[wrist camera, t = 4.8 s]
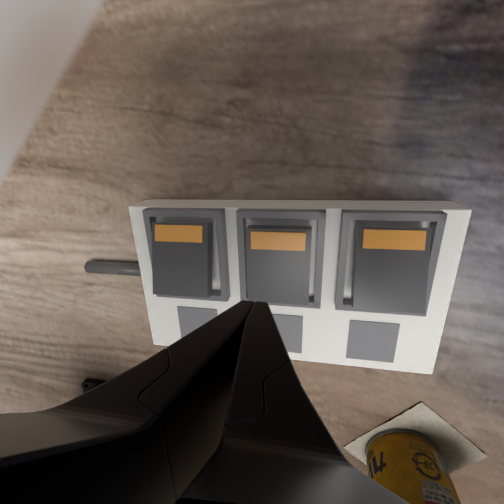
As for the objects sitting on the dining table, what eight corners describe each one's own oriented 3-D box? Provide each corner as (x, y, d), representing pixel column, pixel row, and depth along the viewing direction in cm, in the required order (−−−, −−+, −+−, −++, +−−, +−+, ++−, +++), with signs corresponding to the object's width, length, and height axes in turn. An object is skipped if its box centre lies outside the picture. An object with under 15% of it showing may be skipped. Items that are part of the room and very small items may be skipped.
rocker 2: (350, 304, 17) (353, 309, 16) (355, 226, 16) (358, 226, 15) (418, 308, 16) (425, 314, 15) (424, 227, 16) (433, 228, 15)
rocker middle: (250, 294, 18) (247, 302, 17) (249, 224, 17) (245, 229, 16) (308, 298, 18) (308, 306, 17) (311, 226, 16) (311, 230, 15)
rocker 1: (159, 290, 19) (151, 294, 18) (158, 221, 19) (150, 222, 17) (212, 294, 18) (206, 298, 17) (212, 223, 18) (206, 223, 17)
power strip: (106, 320, 26) (80, 343, 23) (77, 198, 22) (40, 208, 19) (419, 349, 21) (436, 383, 18) (450, 200, 17) (479, 213, 14)
